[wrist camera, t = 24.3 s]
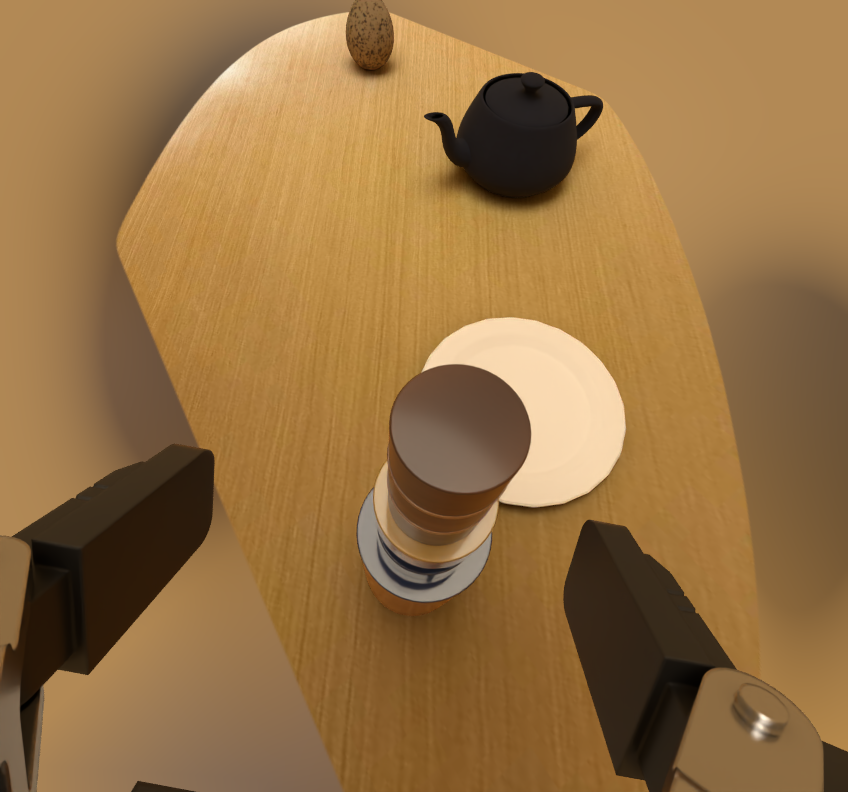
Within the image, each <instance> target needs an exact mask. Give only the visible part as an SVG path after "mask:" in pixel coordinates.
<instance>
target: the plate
mask: <svg viewBox="0 0 848 792" xmlns="http://www.w3.org/2000/svg"><path fill="white" fill-rule="evenodd" d="M448 364H464V365H470V366H475V367H478V368H481V369H484V370H486V371H489V372H491V373H493V374H495V375H496V376H498V377H499V378H501V379H502V380H504V381H505V382H506V383H507V384H508V385H509V386H510V387H511V388H512V389H513V390H514V391H515V392H516V393H517V395H518V396H519V397H520V399H521V400H522V402H523V404H524V406H525V408H526V411H527V413H528V416H529V420H530V424H531V444H530V449H529V452H528V455H527V458H526V460H525V462H524V464H523V466H522V467H521V468H520V470H519V471H518V473H517V474H516V475H515V476H514V478H513V479H512V480H511V482H510V483H509V484H508V486H507V488H506V490H505V491H504V493H503V494H502V495H501V497H500V498H499V502H501V503H504V504H511V505H519V506H526V507H533V508H535V507H543V506H550V505H558V504H564V503H566V502H568V501H571V500H573V499H575V498H577V497H580V496H582V495H584V494H587V493H589V492H590V491H591V490H592V489H593V488H594V487H596V486H597V485H598V484H599V483H600V482H601V481H602V480H603V479H605V478H606V477H607V476H608V475H609V473H610V472H611V470H612V468H613V466H614V465H615V463H616V461H617V459H618V458H619V456H620V454H621V451H622V446H623V441H624V436H625V431H626V425H625V414H624V404H623V402H622V399H621V396H620V394H619V391H618V388H617V386H616V383H615V381H614V379H613V378H612V376H611V375H610V373H609V372H608V370H607V369H606V368H605V366H604V365H603V363H602V362H601V360H600V359H599V358H598V357H597V356H595V355H594V354H593V353H592V352H591V351H590V350H589V349H588V348H587V347H586V346H585V345H584V344H583V343H582V342H580V341H578V340H577V339H575V338H573V337H572V336H570V335H568V334H567V333H565V332H563V331H562V330H560V329H558V328H555V327H552V326H549V325H546V324H544V323H541V322H538V321H534V320H527V319H520V318H513V317H508V318H494V319H486V320H482V321H479V322H476V323H473V324H470V325H466V326H464V327H462V328H461V329H459V330H458V331H456V332H454V333H453V334H451V335H449V336H448V337H446V338H445V339H444V340H443V341H442V342H441V343H440V344H439V346H438V347H437V348H436V349H435V350H434V351H433V352H432V353H431V354H430V356H429V358H428V360H427V362H426V364H425V366H424V368H423V371H422V372H424V371H426V370H428V369H430V368H434V367H437V366H442V365H448Z"/></svg>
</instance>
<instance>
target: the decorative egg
mask: <svg viewBox="0 0 848 792" xmlns="http://www.w3.org/2000/svg"><path fill="white" fill-rule="evenodd" d="M346 40H347V46H348V49H349V51H350V54H351V56H352V57H353V59H354V60H355V62H356V63H357V64H358V65H360V66H361V67H363V68H365V69H368V70H375V69H378V68H380V67H381V66H383V65H384V64H385V63H386V62H387V60H388V59H389V57H390V55H391V52H392V49H393V43H394V31H393V25H392V21H391V17H390V14H389V12H388V10H387V8H386V6H385V4H384V2H383V1H382V0H355V2H354V3H353V5H352V7H351V10H350V12H349V15H348V19H347V24H346Z"/></svg>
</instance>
